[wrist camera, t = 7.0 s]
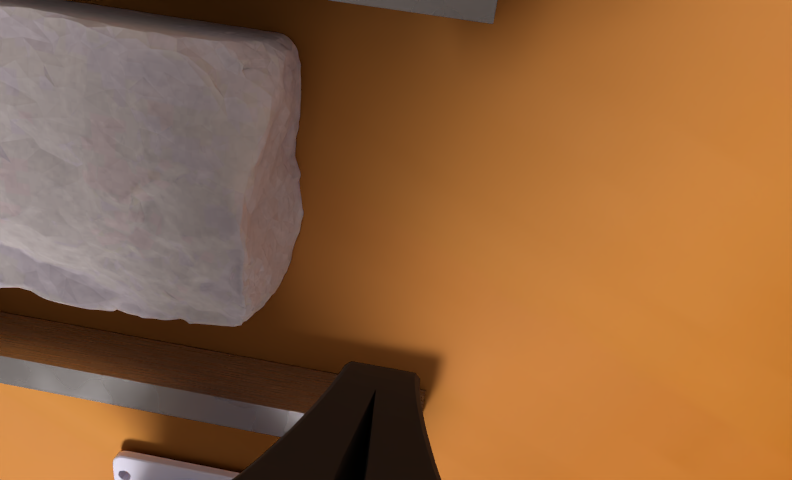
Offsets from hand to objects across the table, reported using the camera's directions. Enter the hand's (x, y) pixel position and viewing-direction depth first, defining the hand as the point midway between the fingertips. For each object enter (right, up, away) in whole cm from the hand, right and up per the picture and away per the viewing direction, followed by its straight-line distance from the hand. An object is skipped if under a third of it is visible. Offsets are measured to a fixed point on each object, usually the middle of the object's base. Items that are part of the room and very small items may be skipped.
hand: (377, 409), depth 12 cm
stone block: (-8, +6, +9) cm, 14 cm away
